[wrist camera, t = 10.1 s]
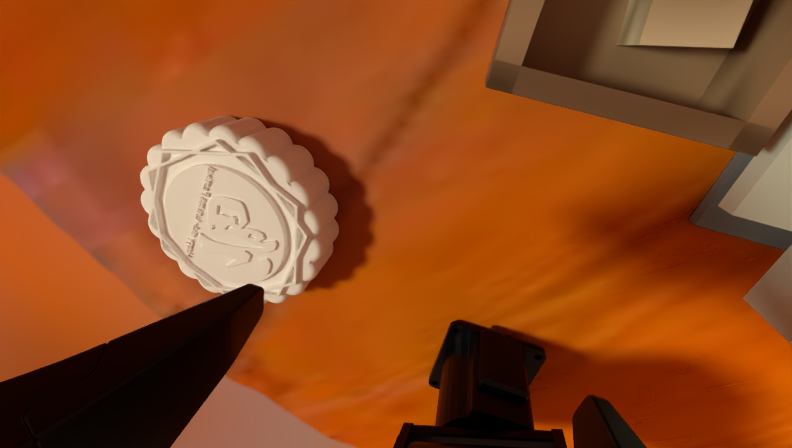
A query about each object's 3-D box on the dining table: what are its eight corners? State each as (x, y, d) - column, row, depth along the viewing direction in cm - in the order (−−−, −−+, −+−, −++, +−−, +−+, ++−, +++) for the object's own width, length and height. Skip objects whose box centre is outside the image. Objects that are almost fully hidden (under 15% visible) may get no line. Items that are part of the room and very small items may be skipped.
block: (695, 48, 14) (732, 48, 12) (616, 45, 15) (638, 44, 13) (730, -43, 13) (778, -60, 11) (641, -42, 13) (671, -59, 11)
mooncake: (303, 306, 27) (280, 341, 24) (164, 226, 26) (120, 250, 23) (372, 181, 21) (353, 204, 18) (195, 74, 20) (143, 79, 17)
